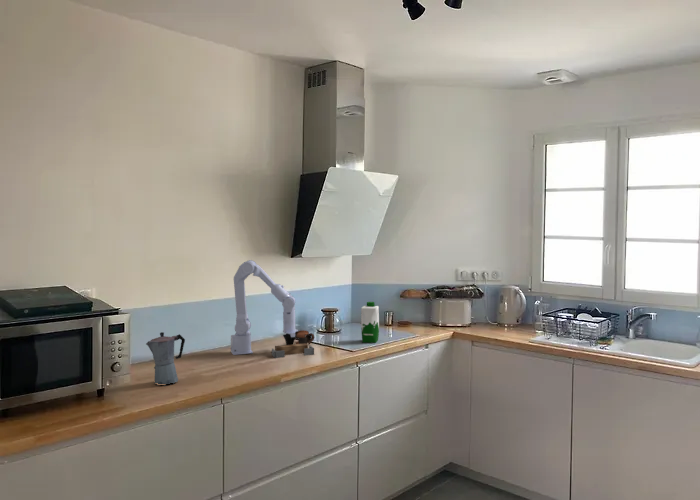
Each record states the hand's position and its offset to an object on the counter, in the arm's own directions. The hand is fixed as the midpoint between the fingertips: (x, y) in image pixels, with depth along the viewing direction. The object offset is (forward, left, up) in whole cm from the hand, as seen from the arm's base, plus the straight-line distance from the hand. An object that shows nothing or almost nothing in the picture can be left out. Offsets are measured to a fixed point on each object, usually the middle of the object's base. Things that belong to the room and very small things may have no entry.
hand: (289, 349), depth 274 cm
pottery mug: (+10, +13, -2) cm, 17 cm away
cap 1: (-7, -6, -1) cm, 10 cm away
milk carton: (+44, +7, -1) cm, 45 cm away
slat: (0, -3, -1) cm, 4 cm away
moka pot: (-57, -33, -1) cm, 66 cm away
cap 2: (+7, -6, -1) cm, 10 cm away
